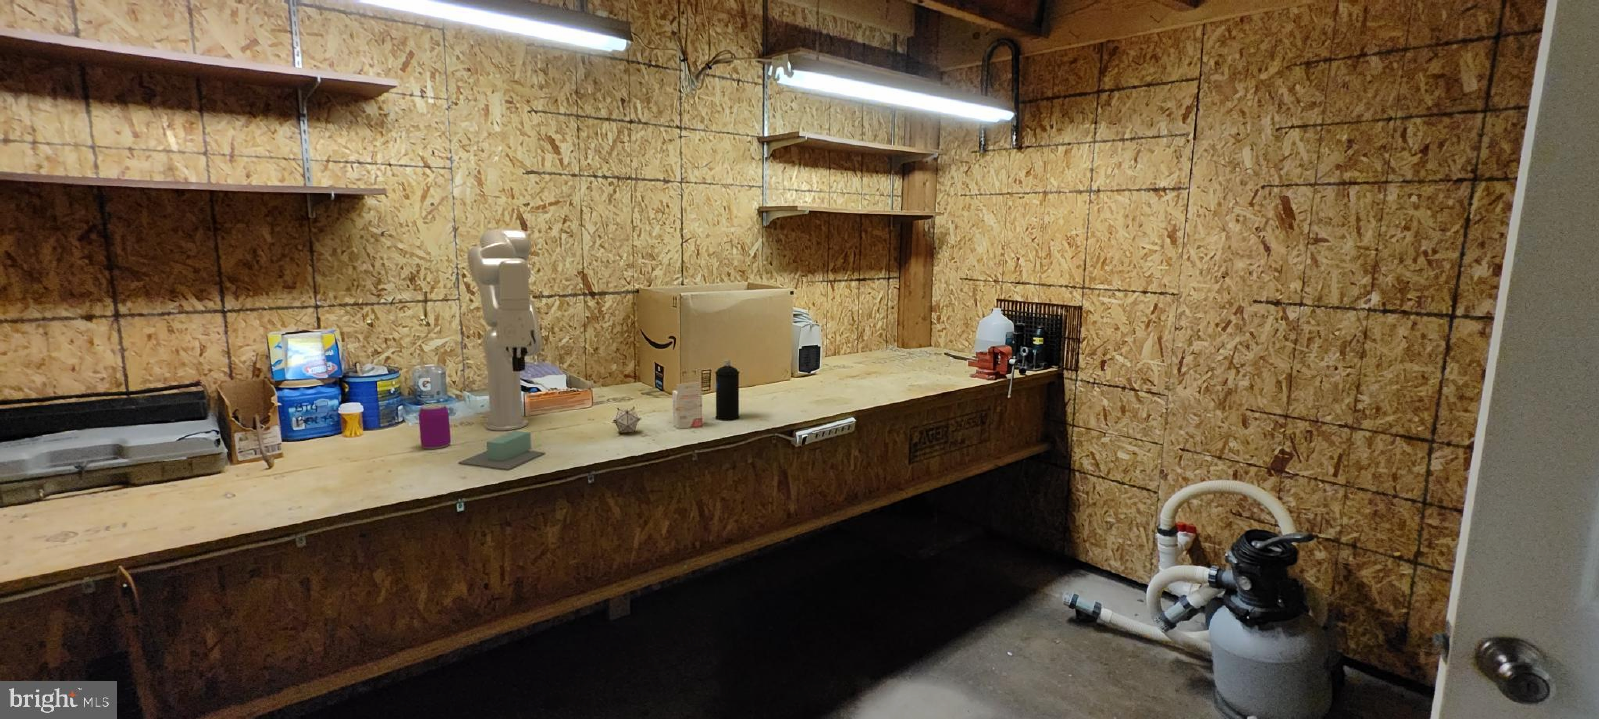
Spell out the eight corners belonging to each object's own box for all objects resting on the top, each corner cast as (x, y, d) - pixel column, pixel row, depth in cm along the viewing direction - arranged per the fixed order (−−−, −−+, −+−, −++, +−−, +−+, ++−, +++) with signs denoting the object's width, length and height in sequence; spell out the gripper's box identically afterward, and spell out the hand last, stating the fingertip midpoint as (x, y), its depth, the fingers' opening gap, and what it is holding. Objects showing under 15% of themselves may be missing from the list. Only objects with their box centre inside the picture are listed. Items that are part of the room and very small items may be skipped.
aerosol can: (744, 417, 243) (744, 359, 240) (729, 422, 236) (729, 363, 233) (725, 413, 248) (725, 357, 244) (710, 418, 241) (709, 360, 237)
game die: (630, 445, 221) (631, 426, 214) (606, 434, 222) (606, 414, 215) (645, 426, 228) (646, 406, 221) (621, 415, 229) (622, 395, 222)
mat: (458, 463, 190) (458, 462, 190) (497, 448, 204) (497, 446, 204) (508, 470, 186) (508, 468, 185) (544, 454, 200) (544, 452, 200)
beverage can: (445, 440, 211) (442, 401, 209) (454, 446, 206) (452, 405, 204) (417, 445, 206) (414, 405, 204) (426, 451, 200) (423, 410, 198)
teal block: (517, 447, 204) (487, 459, 193) (516, 430, 203) (486, 441, 192) (531, 448, 203) (502, 461, 191) (531, 431, 202) (501, 443, 190)
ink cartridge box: (697, 422, 235) (697, 379, 233) (702, 426, 231) (702, 381, 228) (672, 425, 231) (671, 381, 229) (677, 429, 227) (676, 384, 225)
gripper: (483, 305, 194) (487, 371, 198) (529, 307, 190) (532, 375, 193) (502, 303, 202) (506, 366, 205) (547, 305, 197) (550, 370, 200)
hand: (519, 370), depth 199 cm, fingers closed
